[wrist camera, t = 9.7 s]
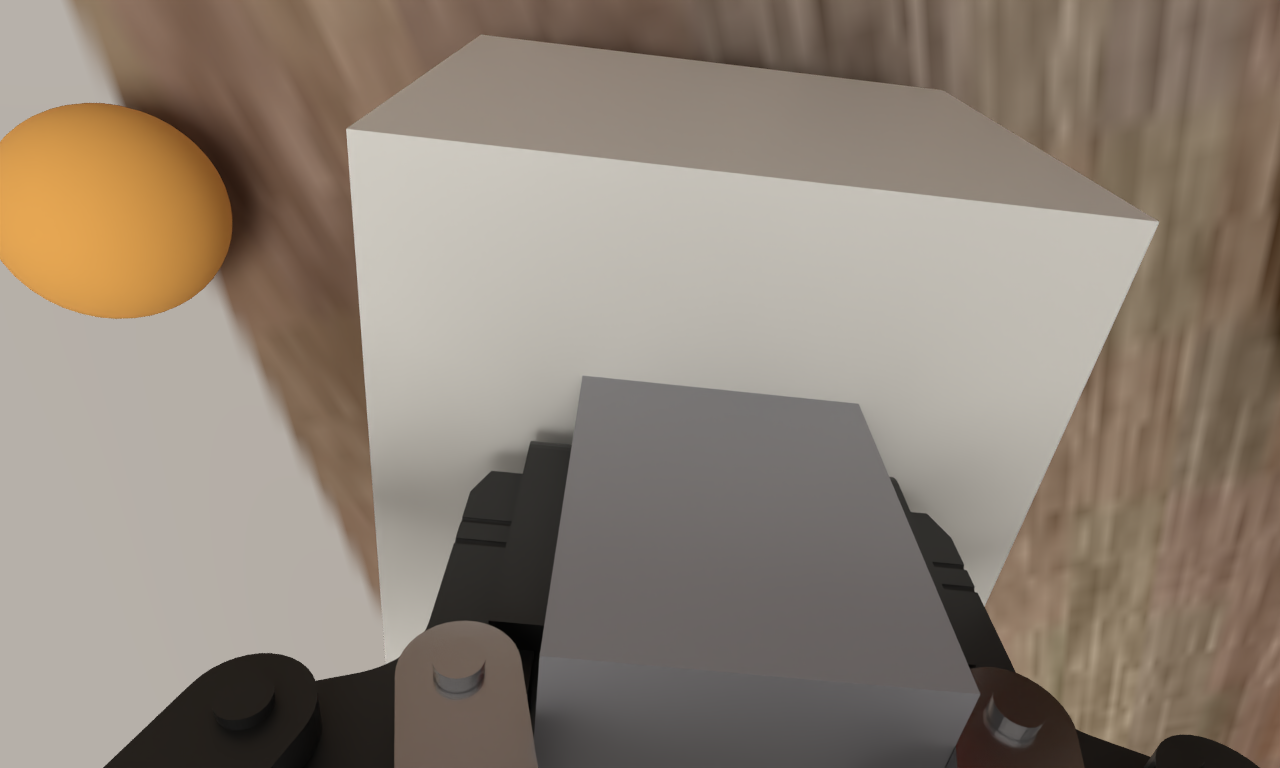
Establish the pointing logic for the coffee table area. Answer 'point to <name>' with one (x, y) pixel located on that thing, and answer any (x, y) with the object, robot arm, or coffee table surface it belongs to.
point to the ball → (110, 211)
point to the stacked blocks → (723, 381)
